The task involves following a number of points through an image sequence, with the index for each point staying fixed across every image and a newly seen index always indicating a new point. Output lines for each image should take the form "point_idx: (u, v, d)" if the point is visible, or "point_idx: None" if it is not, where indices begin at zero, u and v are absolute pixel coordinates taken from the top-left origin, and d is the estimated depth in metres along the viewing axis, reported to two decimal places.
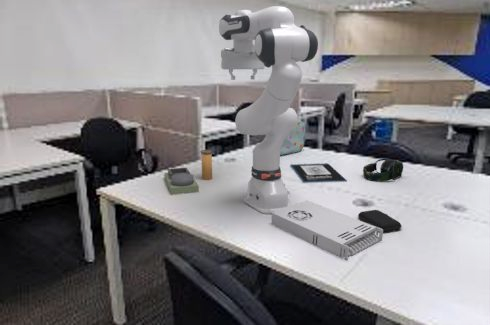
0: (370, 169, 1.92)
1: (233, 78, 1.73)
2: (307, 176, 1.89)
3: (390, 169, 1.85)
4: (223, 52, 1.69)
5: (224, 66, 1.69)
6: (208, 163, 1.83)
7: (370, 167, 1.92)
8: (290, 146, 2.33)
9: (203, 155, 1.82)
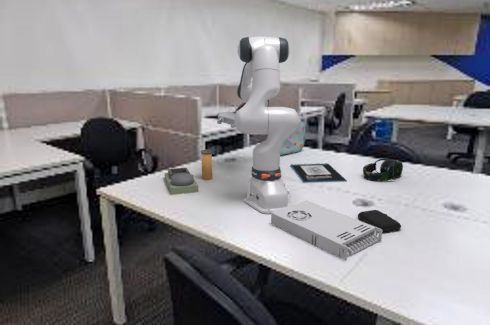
0: (370, 169, 1.92)
1: (218, 120, 1.91)
2: (307, 176, 1.89)
3: (390, 169, 1.85)
4: None
5: (219, 114, 1.97)
6: (208, 163, 1.83)
7: (370, 167, 1.92)
8: (290, 146, 2.33)
9: (203, 155, 1.82)
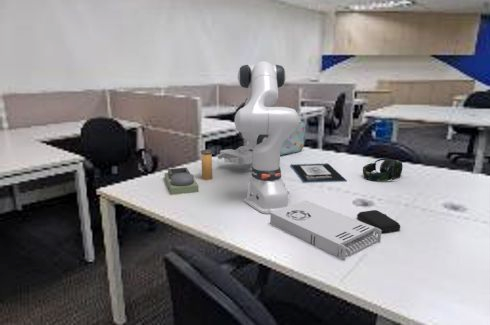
0: (369, 169, 1.92)
1: (219, 155, 1.97)
2: (307, 176, 1.89)
3: (390, 169, 1.85)
4: None
5: (221, 150, 2.03)
6: (208, 163, 1.83)
7: (369, 167, 1.92)
8: (290, 146, 2.33)
9: (203, 155, 1.82)
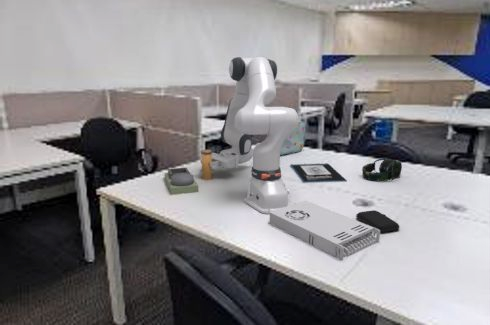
0: (369, 169, 1.92)
1: None
2: (307, 176, 1.89)
3: (389, 169, 1.85)
4: None
5: None
6: None
7: (369, 167, 1.92)
8: (290, 146, 2.33)
9: (203, 155, 1.82)
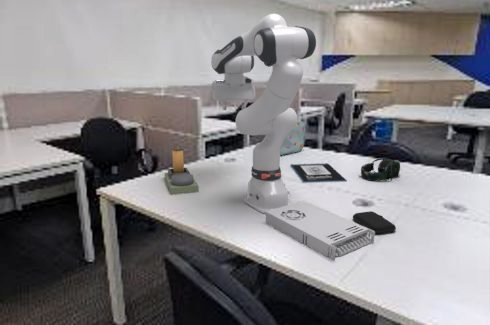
0: (367, 169, 1.93)
1: (224, 108, 1.76)
2: (307, 176, 1.89)
3: (388, 169, 1.86)
4: (214, 84, 1.73)
5: (215, 97, 1.73)
6: (179, 160, 1.78)
7: (367, 167, 1.92)
8: (290, 146, 2.33)
9: (174, 151, 1.77)
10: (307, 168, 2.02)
